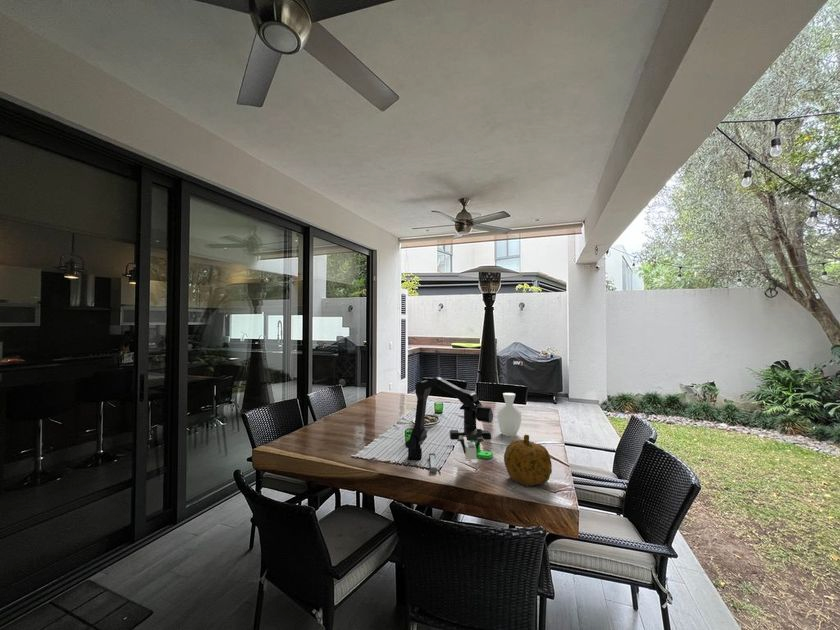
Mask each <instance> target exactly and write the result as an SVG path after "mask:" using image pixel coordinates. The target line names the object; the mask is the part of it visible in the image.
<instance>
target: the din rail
mask: <svg viewBox="0 0 840 630" xmlns="http://www.w3.org/2000/svg"><path fill="white" fill-rule="evenodd" d="M428 459H429V462H430V467H429V474H430V475H431V474H432V475H433V474H434V475H436V474H437V472H438V469H437V468H438V467H437V466H436V465H437V464H436V453H435V452H434V453H429V452H428Z"/></svg>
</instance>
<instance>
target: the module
mask: <svg viewBox="0 0 840 630" xmlns="http://www.w3.org/2000/svg"><path fill="white" fill-rule="evenodd" d="M464 445H465V454H464V457H465V459H466V460H477V457H476V446H475V443H474V442H470V441H464Z"/></svg>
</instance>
